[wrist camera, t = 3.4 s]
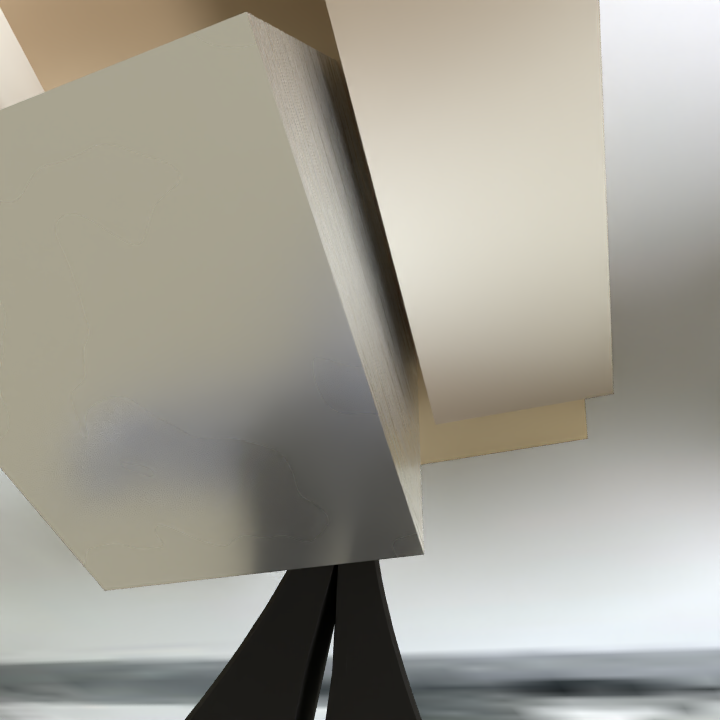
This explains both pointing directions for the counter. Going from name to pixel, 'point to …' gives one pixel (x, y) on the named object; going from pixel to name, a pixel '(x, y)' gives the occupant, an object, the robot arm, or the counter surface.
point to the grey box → (204, 318)
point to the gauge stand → (434, 181)
